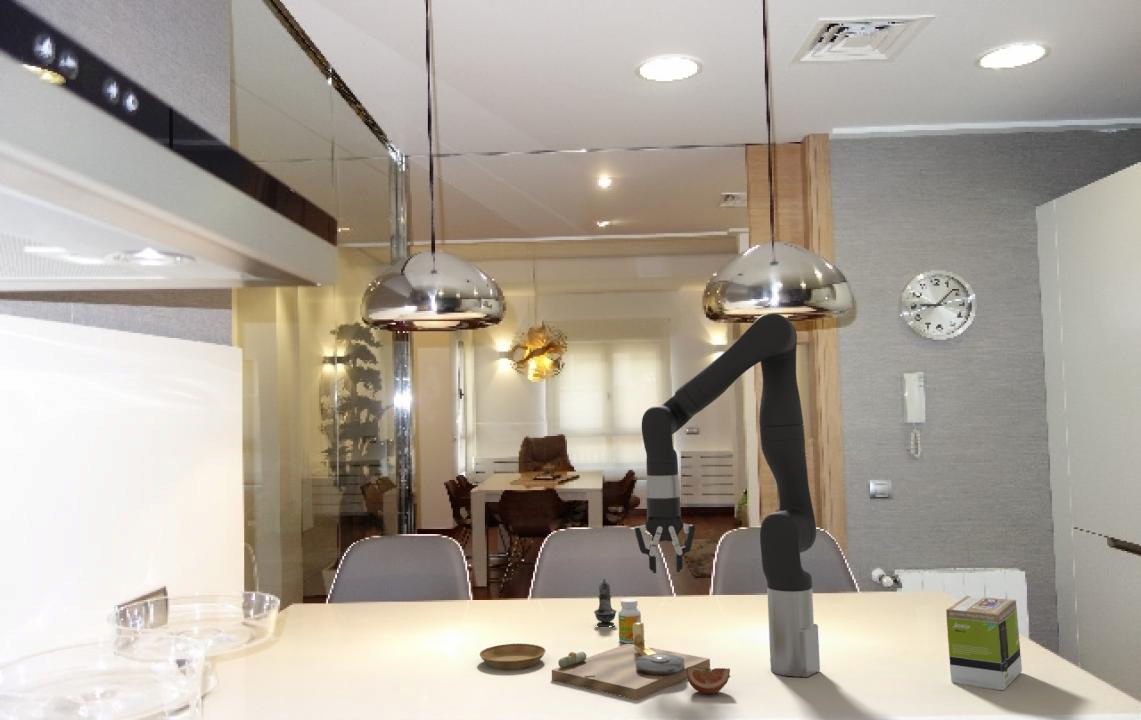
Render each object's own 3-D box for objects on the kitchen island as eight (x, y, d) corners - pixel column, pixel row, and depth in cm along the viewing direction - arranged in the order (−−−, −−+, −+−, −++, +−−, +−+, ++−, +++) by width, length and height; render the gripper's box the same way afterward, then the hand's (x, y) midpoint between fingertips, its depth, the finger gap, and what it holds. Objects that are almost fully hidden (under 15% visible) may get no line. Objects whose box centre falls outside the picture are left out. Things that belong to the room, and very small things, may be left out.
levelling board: (710, 668, 188) (709, 646, 188) (636, 699, 168) (635, 675, 168) (628, 652, 202) (627, 632, 202) (551, 679, 183) (551, 657, 183)
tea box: (970, 665, 185) (966, 593, 186) (1023, 673, 178) (1018, 599, 179) (949, 683, 173) (945, 607, 174) (1004, 692, 167) (999, 613, 168)
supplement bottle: (615, 642, 211) (614, 601, 212) (624, 637, 216) (623, 597, 217) (636, 644, 209) (634, 603, 209) (644, 639, 214) (643, 598, 214)
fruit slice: (730, 688, 173) (729, 663, 174) (731, 699, 167) (730, 673, 167) (688, 687, 175) (687, 662, 175) (686, 698, 168) (685, 672, 169)
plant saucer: (485, 676, 188) (485, 663, 188) (474, 658, 202) (474, 646, 202) (553, 669, 191) (552, 656, 192) (537, 652, 206) (537, 640, 206)
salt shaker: (617, 622, 232) (616, 576, 233) (616, 628, 226) (615, 580, 227) (595, 622, 232) (593, 576, 233) (593, 628, 226) (592, 580, 227)
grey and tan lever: (691, 672, 177) (690, 642, 178) (644, 676, 175) (643, 646, 175) (658, 647, 197) (657, 620, 197) (615, 651, 195) (615, 624, 195)
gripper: (692, 492, 201) (695, 568, 200) (629, 494, 201) (632, 570, 200) (697, 495, 194) (700, 574, 192) (633, 497, 193) (635, 576, 192)
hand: (665, 571), depth 196 cm, fingers open, 4 cm apart
